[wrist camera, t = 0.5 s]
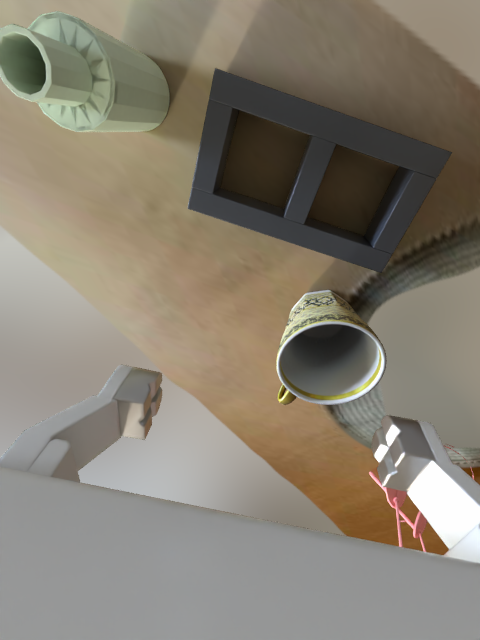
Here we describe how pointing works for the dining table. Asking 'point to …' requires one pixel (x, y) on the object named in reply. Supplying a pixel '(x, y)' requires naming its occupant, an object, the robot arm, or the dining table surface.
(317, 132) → the holder
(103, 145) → the dining table surface
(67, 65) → the bottle
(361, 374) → the ceramic cup
